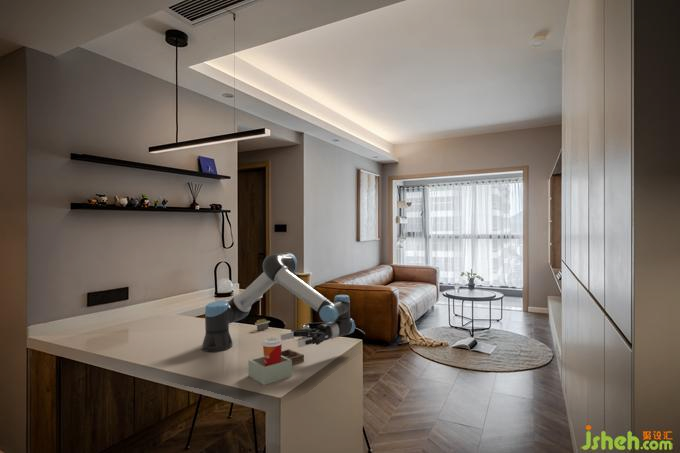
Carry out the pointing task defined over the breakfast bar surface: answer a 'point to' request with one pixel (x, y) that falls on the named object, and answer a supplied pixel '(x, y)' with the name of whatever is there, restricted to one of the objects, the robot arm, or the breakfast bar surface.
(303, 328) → the valve
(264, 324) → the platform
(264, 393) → the breakfast bar surface
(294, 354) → the walnut collar
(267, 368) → the box
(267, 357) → the coffee cup
